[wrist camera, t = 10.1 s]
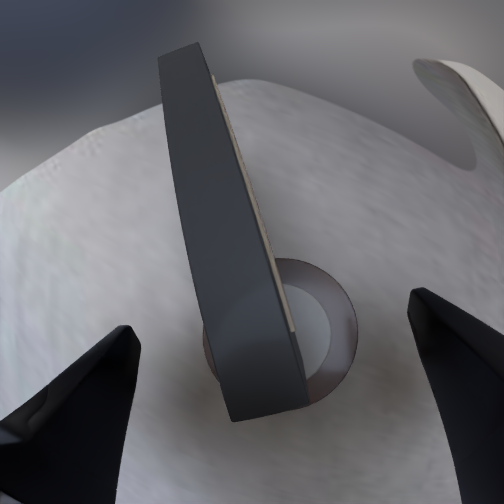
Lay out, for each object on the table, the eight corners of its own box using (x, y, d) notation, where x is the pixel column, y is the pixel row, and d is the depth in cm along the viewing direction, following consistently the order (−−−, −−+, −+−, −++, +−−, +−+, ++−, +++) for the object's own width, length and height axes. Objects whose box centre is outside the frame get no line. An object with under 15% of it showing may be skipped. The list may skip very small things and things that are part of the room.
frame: (340, 367, 13) (402, 418, 4) (244, 394, 13) (171, 470, 5) (269, 155, 17) (242, 28, 8) (191, 181, 17) (117, 76, 9)
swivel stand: (358, 271, 16) (364, 265, 14) (341, 410, 14) (345, 417, 12) (221, 258, 17) (214, 251, 16) (202, 391, 15) (193, 396, 14)
